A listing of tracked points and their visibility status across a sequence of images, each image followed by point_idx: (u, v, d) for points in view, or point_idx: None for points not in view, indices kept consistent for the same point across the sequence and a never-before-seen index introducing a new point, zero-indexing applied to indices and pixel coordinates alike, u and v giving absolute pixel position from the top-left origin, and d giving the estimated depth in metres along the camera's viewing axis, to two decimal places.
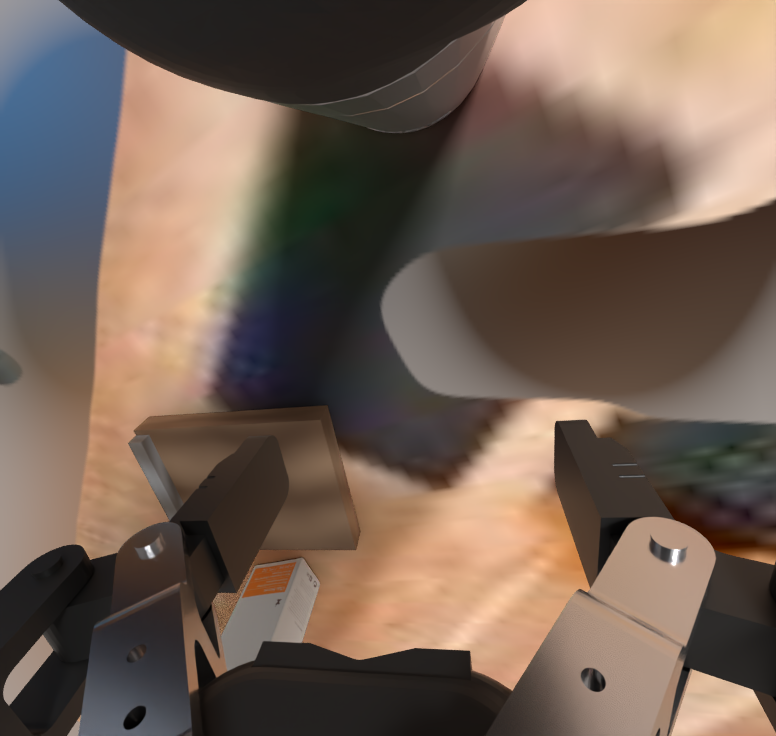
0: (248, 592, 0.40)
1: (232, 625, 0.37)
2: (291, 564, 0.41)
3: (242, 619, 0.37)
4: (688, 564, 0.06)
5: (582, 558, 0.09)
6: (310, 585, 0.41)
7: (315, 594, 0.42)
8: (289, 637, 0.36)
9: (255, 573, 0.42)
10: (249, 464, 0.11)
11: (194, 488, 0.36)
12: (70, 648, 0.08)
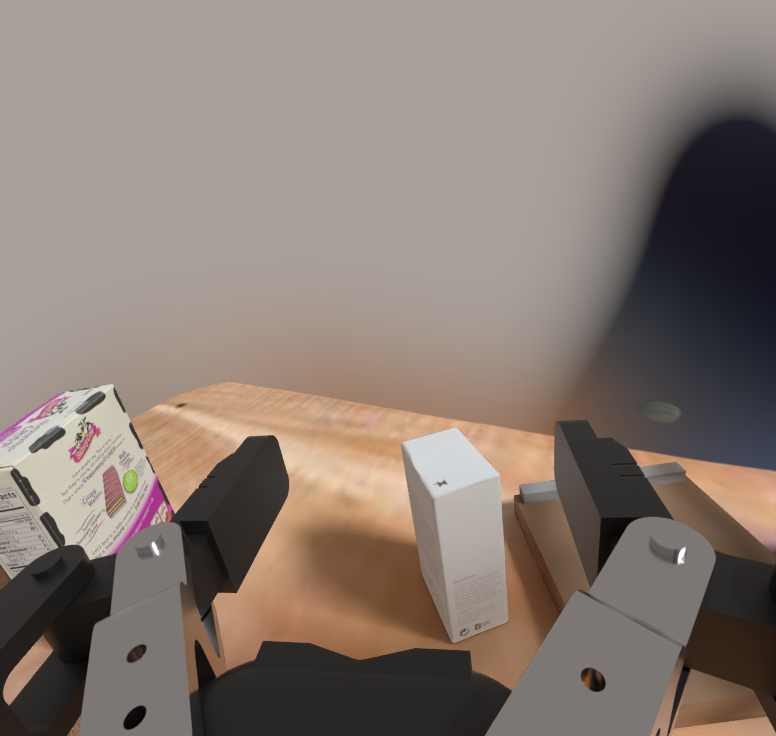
0: None
1: None
2: None
3: None
4: (688, 564, 0.06)
5: (582, 558, 0.09)
6: (472, 622, 0.26)
7: (453, 628, 0.26)
8: (474, 558, 0.24)
9: None
10: (249, 464, 0.11)
11: None
12: (70, 648, 0.08)
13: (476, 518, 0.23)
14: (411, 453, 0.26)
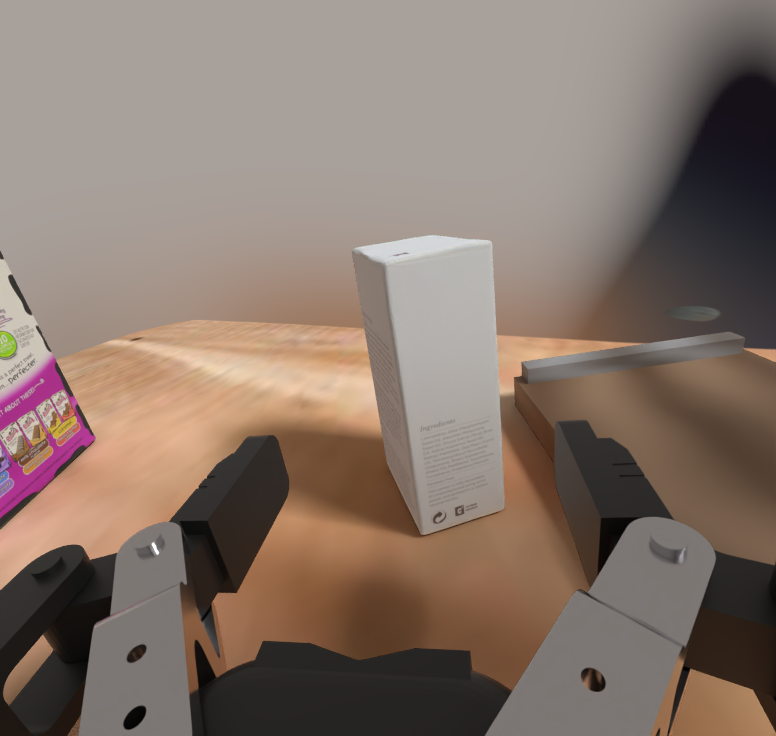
0: None
1: None
2: None
3: None
4: (688, 564, 0.06)
5: (582, 558, 0.09)
6: (451, 502, 0.18)
7: (422, 509, 0.18)
8: (452, 389, 0.16)
9: None
10: (249, 464, 0.11)
11: (662, 378, 0.24)
12: (70, 648, 0.08)
13: (454, 316, 0.15)
14: (363, 249, 0.18)
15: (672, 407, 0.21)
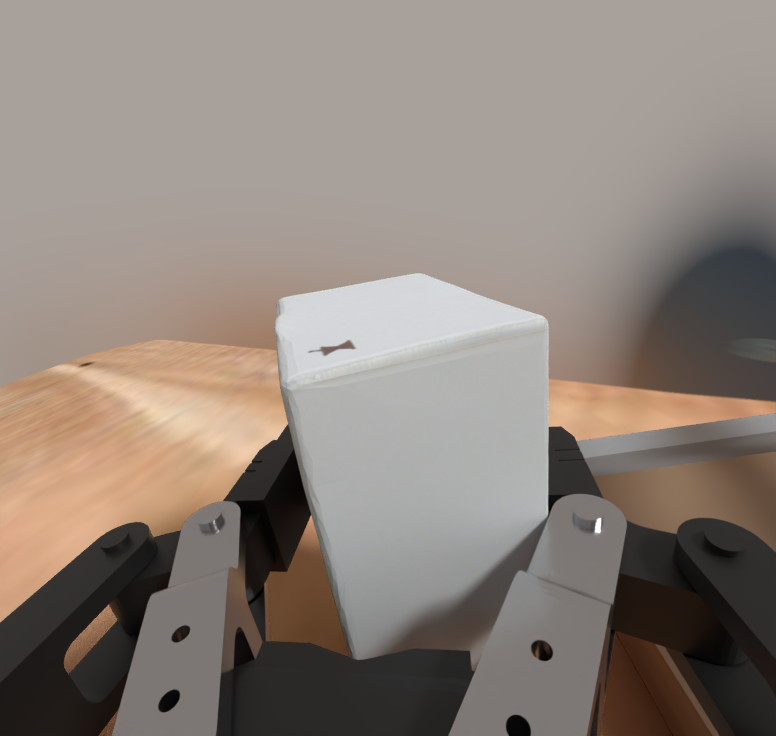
0: None
1: None
2: None
3: None
4: (601, 533, 0.07)
5: None
6: None
7: None
8: (454, 613, 0.08)
9: None
10: None
11: None
12: (131, 622, 0.09)
13: (460, 482, 0.07)
14: (287, 307, 0.09)
15: None
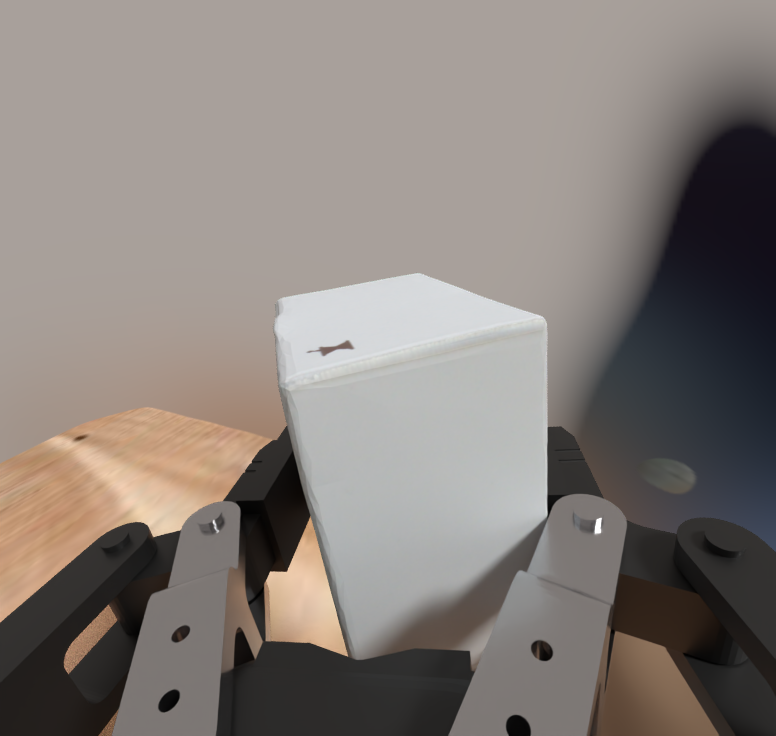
0: None
1: None
2: None
3: None
4: (601, 533, 0.07)
5: None
6: None
7: None
8: (454, 613, 0.08)
9: None
10: None
11: (614, 669, 0.20)
12: (130, 621, 0.09)
13: (459, 482, 0.07)
14: (286, 308, 0.09)
15: None
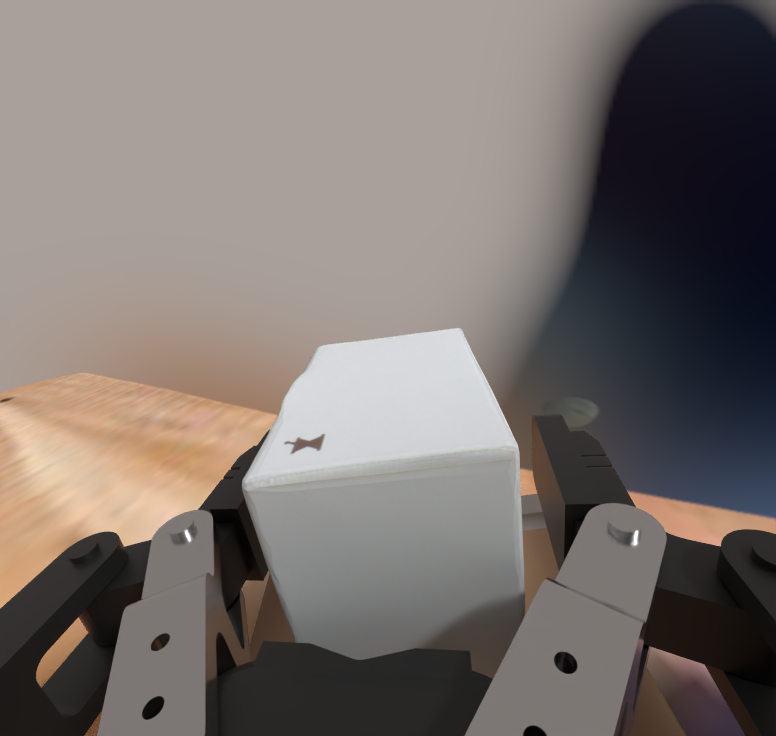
0: None
1: None
2: None
3: None
4: (640, 545, 0.07)
5: (553, 545, 0.09)
6: None
7: None
8: None
9: None
10: None
11: None
12: (103, 633, 0.08)
13: (419, 587, 0.07)
14: (313, 365, 0.10)
15: None
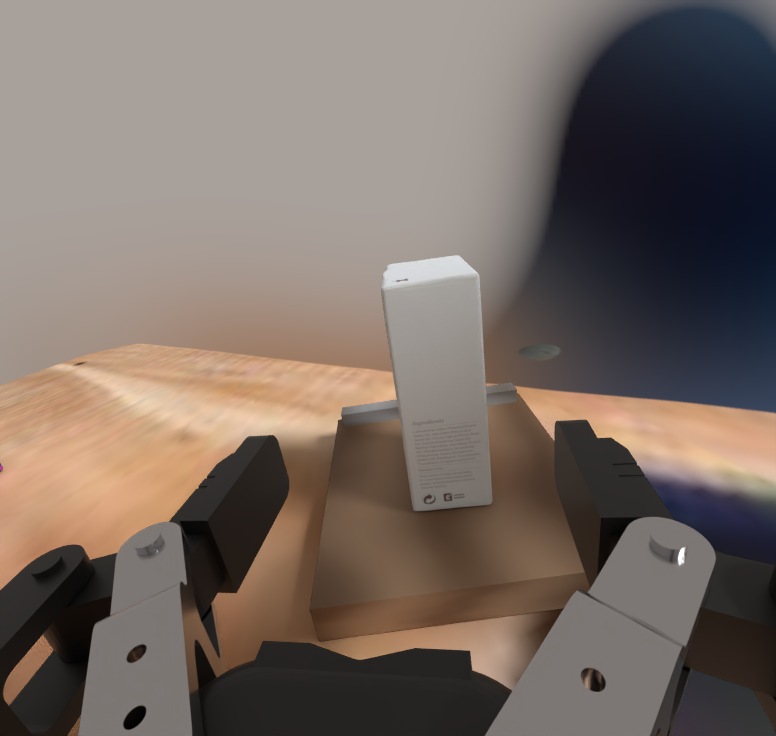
0: None
1: None
2: None
3: None
4: (688, 564, 0.06)
5: (582, 558, 0.09)
6: (440, 489, 0.21)
7: (414, 489, 0.21)
8: (440, 394, 0.19)
9: None
10: (249, 464, 0.11)
11: None
12: (70, 648, 0.08)
13: (443, 334, 0.18)
14: (389, 268, 0.21)
15: None
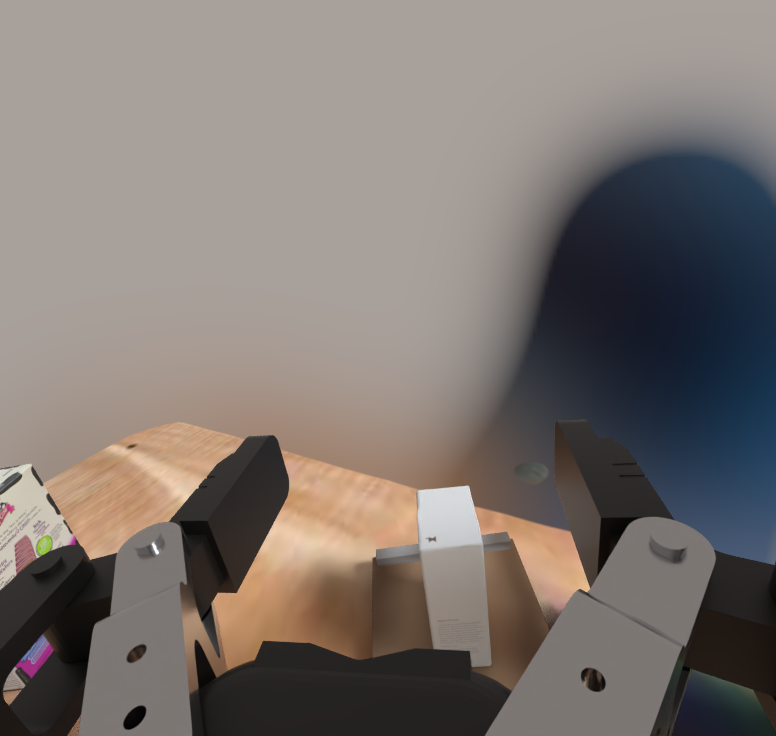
0: None
1: None
2: None
3: None
4: (688, 564, 0.06)
5: (582, 558, 0.09)
6: None
7: None
8: (457, 605, 0.28)
9: None
10: (249, 464, 0.11)
11: None
12: (70, 648, 0.08)
13: (459, 574, 0.27)
14: (420, 503, 0.30)
15: None
